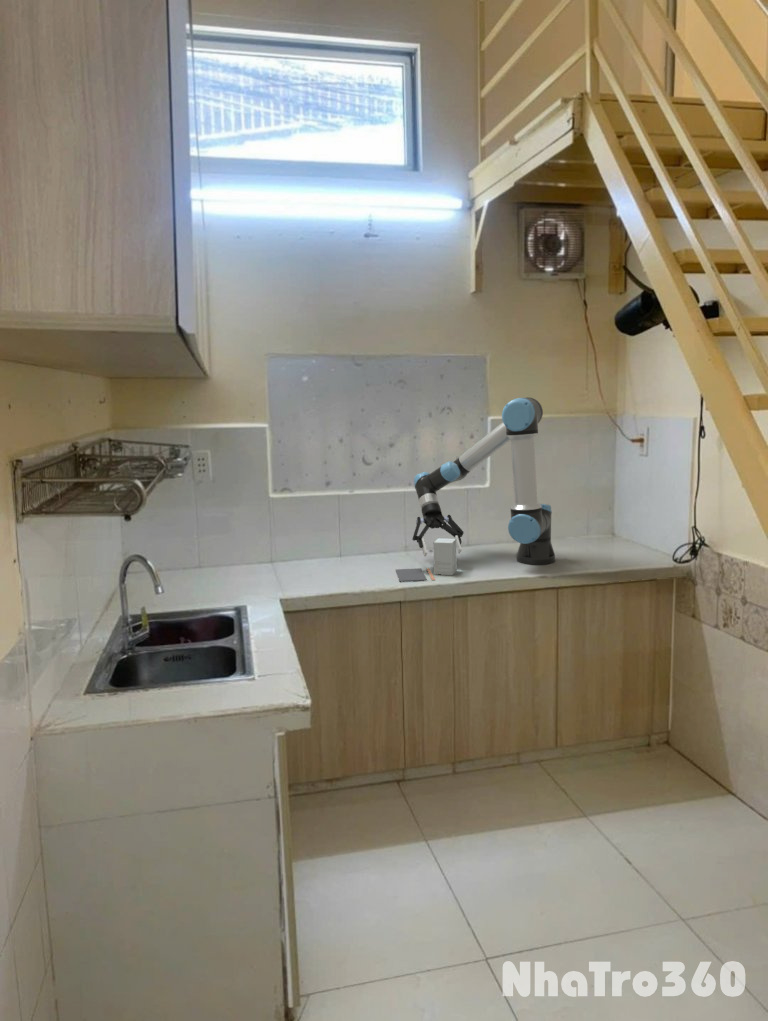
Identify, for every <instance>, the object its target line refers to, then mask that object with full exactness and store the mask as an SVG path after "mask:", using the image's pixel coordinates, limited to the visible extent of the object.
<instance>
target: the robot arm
mask: <svg viewBox="0 0 768 1021" xmlns="http://www.w3.org/2000/svg"><path fill="white" fill-rule="evenodd" d="M543 411H544V410H543V406H542V405H541V403H540V402H539V401H538V400H537V399H535V398H533V397H518V398H517V397H516V398H514V399H512V400H510V401H508V402H507V403H506V404H505V405H504V407H503V409H502V412H501V420H502V422H501V423H499V424H498V425H497V426H496V427H494V428H493V430H491V431H490V432H488V433H487V434H486V435H485V436H484V437H483V438H481V439H480V440H479V441H477V442H476V443H475V444H473V445H472V446H471V447H470V448H469V449H467V450H466V451H465V452H463V454H461V455H460V456H458V457H457V458H456V459H455V460H454V461H451V460H450V461H447V462H445V463H443V464H442V465H441V466H440V467H438V468H436V469H435V470H433V471H432V472H431V473H429V472H427V471H423V472H421V473H418V474H416V475H415V476H414V478H413V484H414V489H415V492H416V495H417V499H418V503H419V507H420V510H421V514H422V518H421V517H420V516H417V518H416V520H415V522H416V526H415V530H414V532H413V535H412V541H413V542H414V541H416V543H418V547H419V549H422V553H423V557H427V555H428V548H427V545H426V542H425V538H424V536H425V535H426V533H427V531H428V530H429V528H430V529H441V530H444V531H446V532H447V533H448V534H449V535H451V536H452V537H453V539H456V552H457V554H461V552H462V546H461V545H462V538H461V537H463V535H464V534H465V532H464V531H463V529H462V528H461V527H460V526H459V525H458V524H457V522H455V520H453V518H452V515H451V514H447V515H446V516H444V515H443V512H442V508H441V506H440V501H439V499H438V496H437V492H438V491H440V490H441V489H443V488H444V487H446V486H448V485H450V484H451V483H455V482H458V481H461V480H464V479H465V478H466V477H467V476H468V474H469V473H470V472H471V471H474V470H475V468H477V467H479V465H480V464H481V463H483V462H484V461H486V460H487V459H488V458H490V457H491V456H492V455H494V454H495V453H496V452H497V451H499V450H500V449H502V448H503V447H504V446H505V445H507V444H508V442H510V450H511V465H512V466H511V467H512V468H511V469H512V470H511V471H512V484H513V486H512V488H513V504H512V505H511V507H510V520H509V521H508V525H507V530H508V534H509V535H510V537H511V538H512V539H513V541H515V542H516V543H519V547H518V549H517V552H516V561H517V562H519V563H521V564H526V565H535V566H536V565H538V566H539V565H549V564H553V563H555V561H556V554H555V551H554V547H553V544H552V514H553V512H552V506H551V505H550V504H549V503H548V504H547V503H539V501H538V491H537V490H538V486H537V469H536V468H537V467H536V465H537V464H536V448H535V447H536V446H535V437H537V436H538V435H539V423H540V422H541V420H542V418H543V415H544V412H543ZM422 524H425V526H424V528H423V529H422V531H421V532H420V533H419V530H420V527H421V525H422ZM418 533H419V535H418Z"/></svg>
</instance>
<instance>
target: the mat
mask: <svg viewBox="0 0 768 1021" xmlns="http://www.w3.org/2000/svg"><path fill="white" fill-rule="evenodd" d="M395 573H396V575H397V579H398V578H399V579H398V581H399V582H400V581H413V582H425V581H424V580H427V581H428V579H427V577H426V575H425V573H424V571H423V568H420V567H419V568H401V569H400V568H399V569H395Z"/></svg>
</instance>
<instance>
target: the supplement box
mask: <svg viewBox="0 0 768 1021" xmlns="http://www.w3.org/2000/svg"><path fill="white" fill-rule="evenodd" d="M457 560H458V559H457V548H456V539H454V538H442V537H441V538H439V537H438V538H436V540H434V542H433V565H434V566H433V570H434V571H433V572H434V575H438V574H441V575H442V576H454V575H455V573H456V572H457V569H458V568H457V567H458V566H457V563H458V562H457ZM441 575H440V576H441Z"/></svg>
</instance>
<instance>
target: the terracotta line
mask: <svg viewBox="0 0 768 1021" xmlns="http://www.w3.org/2000/svg"><path fill="white" fill-rule="evenodd" d="M426 569H427V570H426V572H427V571H428V572H427V574H428V573H429V574H428V575H430V576H429V577H430V579H431V581H432V580H434V581H436V578H435V576H434V575H433V573H432V570H431V569H430V568H428V567H427V568H426Z"/></svg>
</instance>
